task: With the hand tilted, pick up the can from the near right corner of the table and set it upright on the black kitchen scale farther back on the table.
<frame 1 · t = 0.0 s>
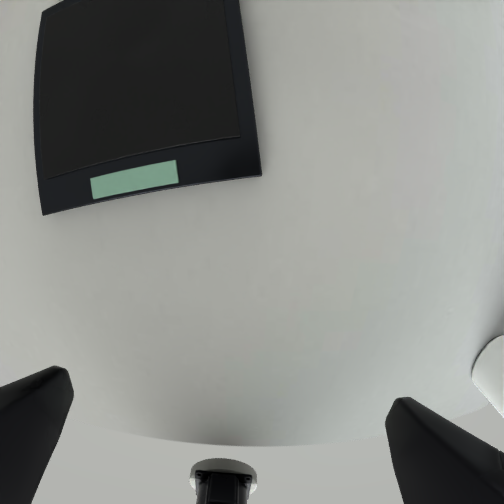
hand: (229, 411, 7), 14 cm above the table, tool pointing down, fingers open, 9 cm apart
can: (489, 358, 23), on the table
scale: (129, 70, 17), on the table
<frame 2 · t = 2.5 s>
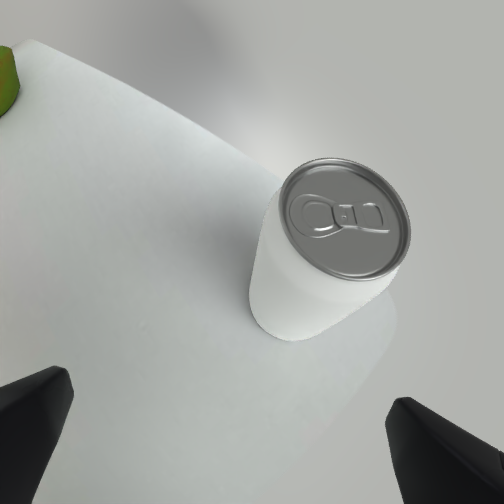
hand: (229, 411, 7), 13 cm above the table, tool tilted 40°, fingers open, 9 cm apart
can: (291, 299, 22), on the table
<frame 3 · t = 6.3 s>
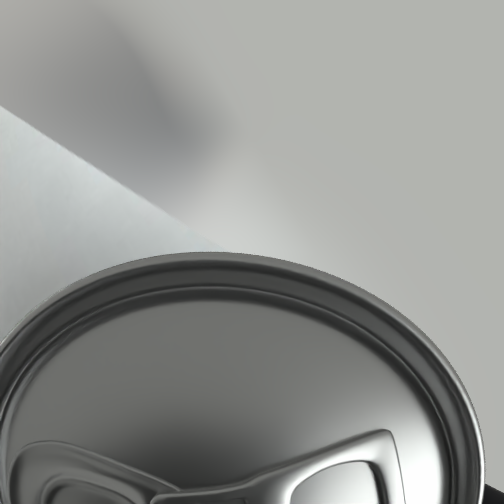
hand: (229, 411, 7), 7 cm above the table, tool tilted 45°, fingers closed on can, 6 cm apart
can: (226, 439, 12), on the table, touching gripper
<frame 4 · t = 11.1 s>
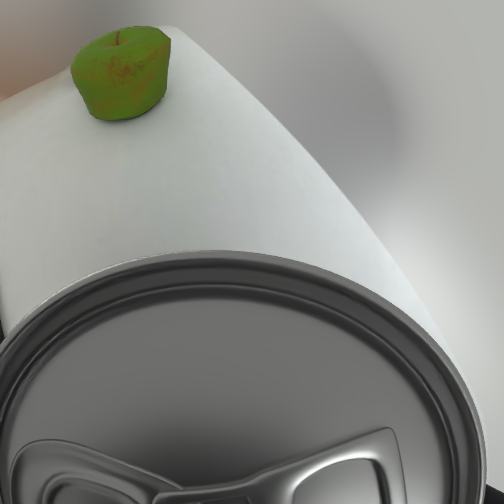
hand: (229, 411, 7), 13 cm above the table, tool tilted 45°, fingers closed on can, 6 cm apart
can: (226, 438, 12), point 7 cm above the table, touching gripper
apple: (129, 107, 34), on the table
when the fingers open (8 cm above the table, at t = 16.3 s): can stays where it is, resting on scale.
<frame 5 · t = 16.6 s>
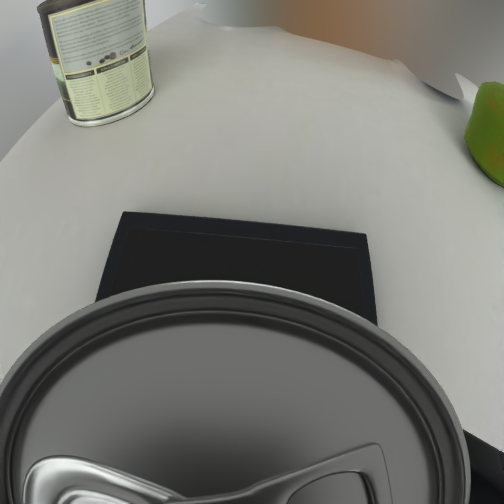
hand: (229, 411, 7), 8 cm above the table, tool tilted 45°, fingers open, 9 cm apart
can: (226, 442, 12), point 1 cm above the table, touching scale
apple: (488, 167, 28), on the table
coffee can: (110, 101, 28), on the table
scale: (231, 372, 15), on the table
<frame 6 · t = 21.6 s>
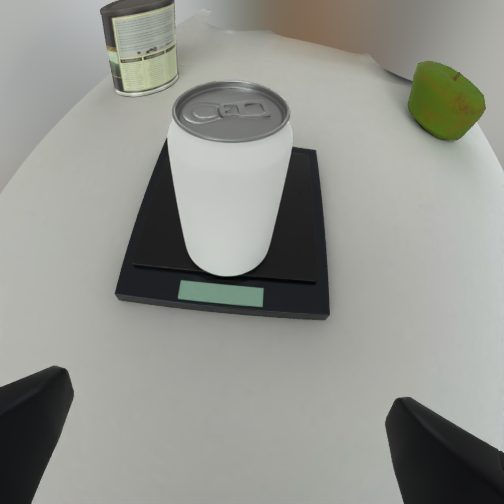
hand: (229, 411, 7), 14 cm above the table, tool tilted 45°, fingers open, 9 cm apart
can: (227, 242, 24), point 1 cm above the table, touching scale
apple: (431, 126, 40), on the table
coffee can: (146, 82, 39), on the table
scale: (231, 215, 27), on the table
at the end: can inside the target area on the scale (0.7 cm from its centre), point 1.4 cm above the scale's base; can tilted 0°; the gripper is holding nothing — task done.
